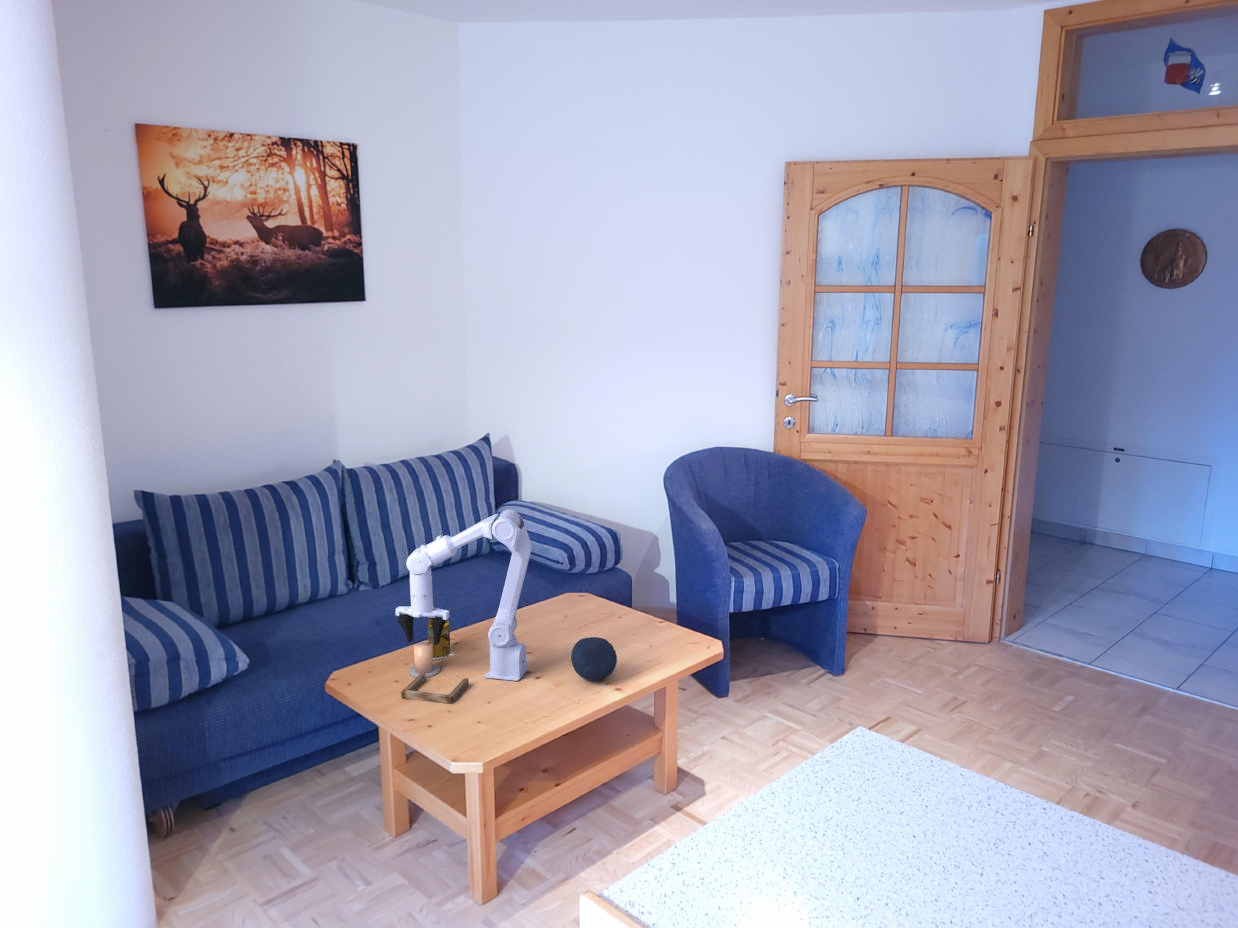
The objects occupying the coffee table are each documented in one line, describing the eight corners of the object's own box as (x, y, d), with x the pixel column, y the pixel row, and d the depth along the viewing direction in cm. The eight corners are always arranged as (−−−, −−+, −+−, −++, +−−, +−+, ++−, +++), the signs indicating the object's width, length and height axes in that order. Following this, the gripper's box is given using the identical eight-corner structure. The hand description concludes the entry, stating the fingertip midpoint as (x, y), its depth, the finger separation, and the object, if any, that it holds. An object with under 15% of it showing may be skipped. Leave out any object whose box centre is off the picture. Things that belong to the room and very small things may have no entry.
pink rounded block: (422, 662, 254) (421, 638, 253) (439, 664, 253) (438, 640, 252) (411, 672, 248) (410, 648, 246) (428, 674, 247) (427, 649, 245)
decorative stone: (561, 679, 246) (561, 643, 244) (592, 665, 255) (592, 630, 253) (594, 691, 238) (594, 655, 236) (624, 677, 247) (625, 641, 245)
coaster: (444, 667, 253) (444, 665, 253) (432, 679, 245) (432, 677, 245) (417, 664, 255) (417, 662, 255) (404, 676, 247) (404, 674, 247)
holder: (468, 685, 242) (468, 678, 242) (451, 703, 231) (451, 697, 231) (420, 679, 245) (420, 673, 245) (401, 698, 234) (401, 691, 234)
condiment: (455, 655, 261) (454, 614, 259) (427, 661, 257) (425, 620, 254) (445, 646, 267) (443, 606, 265) (417, 653, 263) (415, 612, 260)
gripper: (389, 596, 244) (391, 645, 246) (440, 600, 240) (442, 650, 243) (401, 587, 250) (403, 635, 253) (451, 591, 247) (453, 640, 250)
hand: (423, 642), depth 248 cm, fingers open, 7 cm apart
